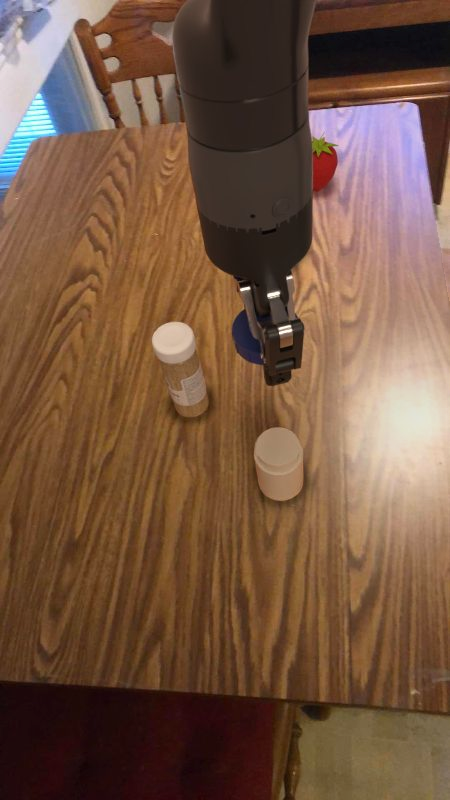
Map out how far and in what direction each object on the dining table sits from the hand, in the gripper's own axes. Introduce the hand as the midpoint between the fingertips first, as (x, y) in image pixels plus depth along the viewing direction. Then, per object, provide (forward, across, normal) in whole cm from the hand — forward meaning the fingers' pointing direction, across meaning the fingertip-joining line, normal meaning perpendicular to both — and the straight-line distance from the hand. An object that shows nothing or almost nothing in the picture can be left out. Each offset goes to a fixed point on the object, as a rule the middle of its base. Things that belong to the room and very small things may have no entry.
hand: (268, 353), depth 50 cm
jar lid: (-3, 0, 0) cm, 3 cm away
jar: (+19, +3, -1) cm, 19 cm away
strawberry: (+19, -45, +19) cm, 53 cm away
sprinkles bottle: (+19, -10, -8) cm, 23 cm away
